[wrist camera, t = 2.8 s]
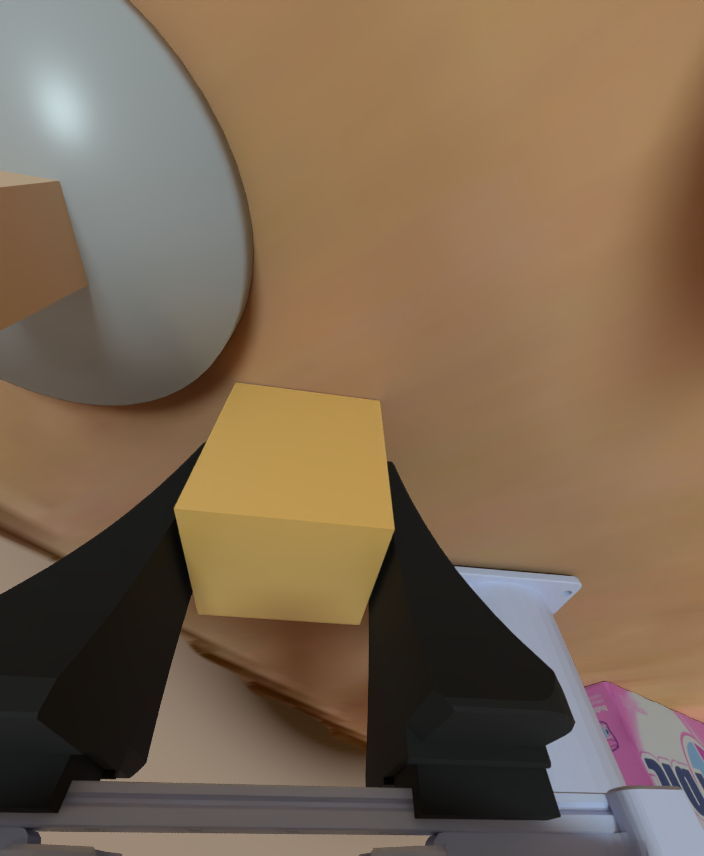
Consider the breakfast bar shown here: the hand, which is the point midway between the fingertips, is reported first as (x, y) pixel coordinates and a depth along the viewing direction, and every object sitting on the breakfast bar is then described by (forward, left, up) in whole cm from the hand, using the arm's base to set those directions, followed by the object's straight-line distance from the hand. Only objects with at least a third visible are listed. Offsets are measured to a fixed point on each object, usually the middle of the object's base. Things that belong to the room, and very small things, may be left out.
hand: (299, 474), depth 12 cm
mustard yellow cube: (0, 0, -1) cm, 1 cm away
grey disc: (+6, +6, -1) cm, 9 cm away
